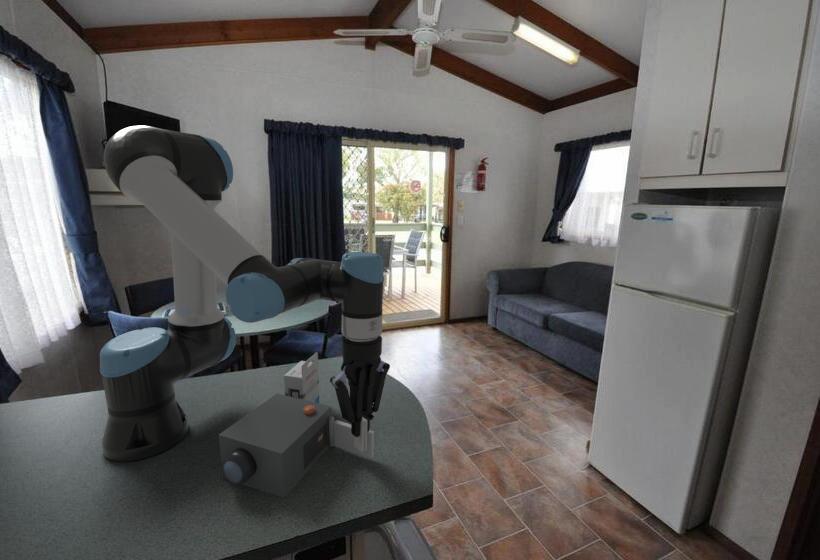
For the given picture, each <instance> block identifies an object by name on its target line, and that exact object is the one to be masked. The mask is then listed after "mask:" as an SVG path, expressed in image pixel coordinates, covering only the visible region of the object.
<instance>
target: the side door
mask: <svg viewBox="0 0 820 560" xmlns="http://www.w3.org/2000/svg"><path fill="white" fill-rule="evenodd" d="M334 443H335V446H334V447H336V448H339V449H343V450H345V451H349V452H351V453H354V454H356V455H361V456H363V457H365V458H369V459H371V460H372V459H373V458H374V456H375V431H373V430H371V429H369V431H368V432H367V450H366V451H364V452H361V451H359V450H358V449H357V448H356V447H354V435H352V433H351V423H349V422H344V421H341V420H338V419H337V420H334Z"/></svg>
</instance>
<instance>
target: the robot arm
mask: <svg viewBox="0 0 820 560" xmlns="http://www.w3.org/2000/svg"><path fill="white" fill-rule="evenodd" d="M221 144H222V143H220V142H218V141H217V140H215V139H212V138H210V137H206V136H202V135H200V134H195V133H187V132H182V131H175V130H170V129H165V128H164V129H163V128H159V127H154V126H150V125H132V126H128V127H125V128H122V129H120V130H118V131H117V132H116V133H115V134H113V135H112V136H111V137H110V138H109V140H108V141H107V143H106V145H105V147H104V150H103V151H104V152H103V165H104V168H105V172H106V174H107V176H108V178H109V180H110V181H111V183H113V185H114V186H115V188H117V190H119V191H120V192H121V193H122V194H123V195H124V196H125V197H126V198H127V199H129V201H133V202H134V203H135V202H136V203H139V204H140V203H141V204H142V205H143V206H144V207H145V208H146V209H147V210H148V211H149V212H150V213H152V215H153V216H154V217H155V218H156V219H157V220H158V221H159V222H160V223H161V224H163V225H164V227H165V228H167V230H168V231H170V239H171V240H170V241H171V243H170V244H171V254H172V255H171V256H172V257H171V258H172V276H173V295H174V311H173V312H171V314H169V316H167V330H166V329H165V328H162V327H154V326H153V327H144V328H142V329H134V330H131V331H130V330H129V331H128V332H124V333H123V334H120V335H118V336H116V337H114V338H112V339H110V340H109V341H108V342H106V343H105V344H104V345H103V346H102V348H101V350H100V352H99V372H100V374H101V379H102V386H103V391H104V396H105V403H106V406H107V412H108V413H107V414H108V416H107V420H106V424H105V428H104V433H103V436H102V440H101V445H102V446H101V447H102V453H103V455H104V457H105V458H107V459H108V460H110V461H113V462H132V461H139V460H140V461H141V460H143V459H144V460H145V459H147V458H151V457H154V456H155V455H159V454H161V453H163V452H165V451H167V450H169V449H171V448H172V447H174V446H175V445H177V444H178V443H179V442H181V441H182V440H183V439H184V437H185V436H186V435H187V434H188V431H189V420H188V416H187V415H186V413H185V411H184V409H183V408H182V406H181V404H180V403H179V401H178V400H177V398H176V392H175V383H177V382H179V381H181V380H183V379H186V378H189V377H190V376H193V375H194V374H197V373H199V372H202V371H203V370H205V369H207V368H211V367H214V366H217V365H218V364H220V362H222V361H224V360H226V359H227V358H229V357H230V355H231V354H232V353H233V351H234V349H235V346H236V339H237V337H236V330H235V328H234V327H232V326H233V323H232V322H231V320H229V318H227V317H226V316H225V313H224V311H222V310H221V309H220V308H219V307H218V297H217V296H218V293H217V292H218V291H217V290H218V289H217V278H219V279H220V281H222V282H223V283H224V285H226V291H225V300H226V304H227V305H228V306H229V307H230V312H231V315H233V316H234V317H235V318H236V319H238V320H239V321H241V322H244V323H248V324H252V323H258V322H261V321H265V320H269V319H273V318H275V317H277V316H279V315H280V314H283V313H285V312H288V311H290V310H292V309H297V308H300V307H302V306H305V305H307V304H310V303H312V302H315V301H318V300H324V301H328V302H329V301H330V302H337V303H338V302H339V303H341V331H340V332H341V334H342V337H341V355H342V364H341V367H340V372H339V373H338V374H337V375H336V376H334V375H333V376H331V377H330V378H329V382H330V383H331V384H332V386H333V387H334V390H335V394H336V398H337V401H338V404H339V405H338V406H339V409H340V413H341V418H343V420H346V421H347V423H348V424H351V433H352V435H354V447H356V448H357V449H358V450H359V451H361V452H364V451H366V450H367V432H368V431H369V430H371V429H370V428H371V425H370V424H371V421H372V420H374V418H375V415H374V414H373V413H378V411H379V409H380V404H381V400H382V399H381V398H382V396H383V395H382V394H383V390H384V386H385V383H386V378H387V377H386V376H387V374H388V373H389V370H390V368H391V364H389V363H388V362H386V361H383V360H382V358H381V356H382V351H383V348H382V347H383V337H382V336H381V335H382V333H383V314H384V313H383V301H384V299H383V297H384V281H385V277H384V273H385V272H384V260H383V257H382V255H380V254H379V253H375V252H369V251H367V252H364V251H363V252H362V251H351V252H350V251H349V252H346V253H344V254H343V255H342V257H341V261H334V260H333V261H332V260H327V259H326V260H324V259H318V258H317V259H316V258H313V257H306V258H305V257H303V258H302V257H297V258H293V259H292V260H290V261H289V262H288V263H287V264H286V265H283V266H278V267H277V266H275V264H274V263H273V262H271V261H270V260H269V259H268V258H266V257H265V255H263V254H262V253H261V252H260V251H259V250H258V249H257V248H256V247H255V246H253V244H252V243H251V242H250V241H248V239H246V238H245V237H244V236H243V235H242V234H241V233H240V232H238V230H237V229H235V228H234V227H233V226H232V225H231V224H230V223H229V222H228V221H227V220H225V218H223V216H222V215H220V214H219V213H218V212H217V211H216V210H215V208H216V207H217V206H218V205H219V204H221V202H223V201H222V197H223V196H222V194H223V193H222V192H224V191H226V190H228V189H229V188H230V185H231V184H232V182H233V180H234V167H233V163H232V160H231V157H230V155H229V154H228V153H229V152H227V150H225V148H224V147H223V145H221ZM346 379H347V380H348V382H347V380H346ZM347 385H348V387H349V390H348V387H347Z"/></svg>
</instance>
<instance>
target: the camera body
mask: <svg viewBox="0 0 820 560" xmlns="http://www.w3.org/2000/svg"><path fill="white" fill-rule="evenodd" d="M332 415H333V414H332V406H331V405H327V404H325V403H324V404H323V403H320V402H319V403H315V402H311V401H307V400H302V399H298V398H294V397H289V396H285V394H280V393H275V394H274V395H272V396H271V397H270V398H269V399H267V400H266V401H264V402H263V403H261V404H260V405H258V406H257V407H256V408H255V409H253V410H252V411H250V412H249V413H247V414H246V415H244V416H243V417H242V418H240V419H239V420H237V421H236V422H234V424H232V425H230V426H229V427H227V428H226V429H225V430H223V431H222V432H220V433H219V434H218V442H219V452H220V463H221V464H220V465H221V474H222V478H225V479H226V480H227V481H228V482H229V483H230V484H232V485H235V486H243V485H244V486H247V487H250V488H254V489H256V490H259V491H261V492H262V491H263V492H265V493H269V494H271V495H273V496H276V497H280V498H283V499H285V498H286V497H287V496H288V494H289V493H290V492H291V491H293V489H294V488H295V487H296V485H298V483H299V482H300V481H301V480H302V478H304V476H306V474H307V473H308V472H309V471H310V470H311V469H312V467H313V466H314V465H315V464H316V463H317V462H318V460H319V459H320V458H321V457H322V456H323V455H324V454H325V453H326V451H328V449H329V448H331V447H333V448H334V447H336V446H335V443H334V422H335V417H334V416H332Z"/></svg>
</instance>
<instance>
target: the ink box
mask: <svg viewBox="0 0 820 560" xmlns="http://www.w3.org/2000/svg"><path fill="white" fill-rule="evenodd" d="M318 354H319V352H318V351H316V352H314V354H312V356H310V357H309V358H308V359H307V360H306V361H305V360H300V361H298V363H297V364H296V365H295V366H293V367H292V368H291V369H290V370H288V372H287V373H285V374H284V375H283V381H284V383H283V384H284V395H285V396H289V397H294V398H298V399H302V400H307V401H311V402H315V403H319V404H320V376H319V355H318Z"/></svg>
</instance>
